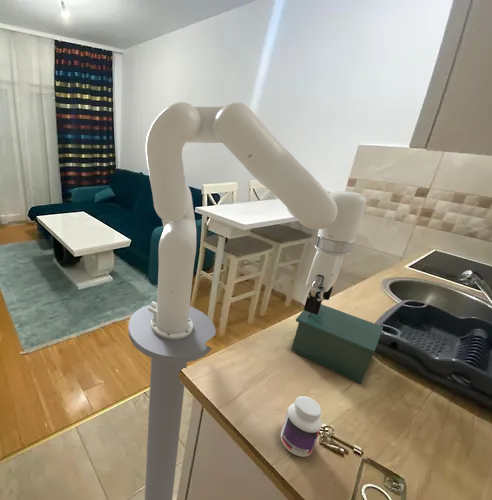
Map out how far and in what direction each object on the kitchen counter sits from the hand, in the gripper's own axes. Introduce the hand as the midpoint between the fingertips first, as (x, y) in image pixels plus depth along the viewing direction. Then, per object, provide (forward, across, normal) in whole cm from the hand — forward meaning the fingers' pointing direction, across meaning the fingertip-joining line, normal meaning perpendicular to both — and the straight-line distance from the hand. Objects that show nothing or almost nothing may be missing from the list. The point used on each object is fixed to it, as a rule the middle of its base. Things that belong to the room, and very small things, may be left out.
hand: (316, 304), depth 76 cm
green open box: (+12, 0, +6) cm, 14 cm away
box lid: (+3, 0, +6) cm, 7 cm away
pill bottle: (+12, +32, +8) cm, 35 cm away
